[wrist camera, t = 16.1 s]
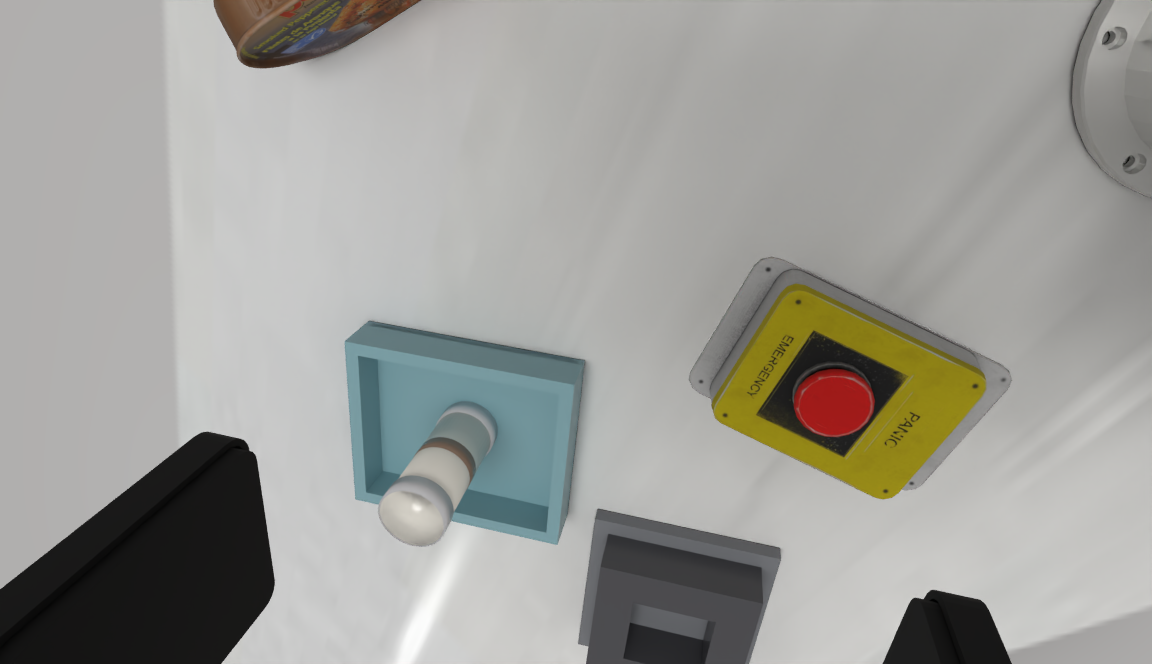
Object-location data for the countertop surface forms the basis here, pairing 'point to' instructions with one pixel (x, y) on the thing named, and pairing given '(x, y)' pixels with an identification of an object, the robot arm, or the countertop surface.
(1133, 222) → the countertop surface
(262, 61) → the tin
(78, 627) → the robot arm
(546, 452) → the parts tray
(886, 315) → the emergency button
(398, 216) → the countertop surface
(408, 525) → the fuse
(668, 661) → the fuse panel
